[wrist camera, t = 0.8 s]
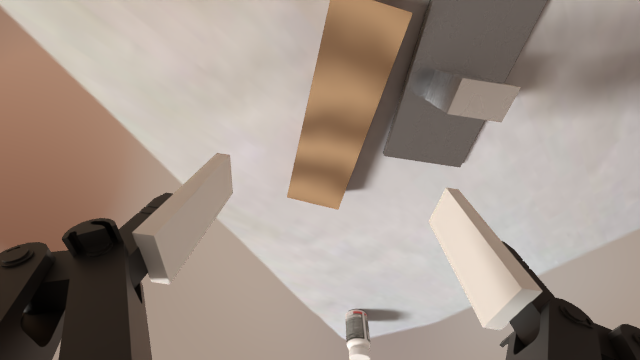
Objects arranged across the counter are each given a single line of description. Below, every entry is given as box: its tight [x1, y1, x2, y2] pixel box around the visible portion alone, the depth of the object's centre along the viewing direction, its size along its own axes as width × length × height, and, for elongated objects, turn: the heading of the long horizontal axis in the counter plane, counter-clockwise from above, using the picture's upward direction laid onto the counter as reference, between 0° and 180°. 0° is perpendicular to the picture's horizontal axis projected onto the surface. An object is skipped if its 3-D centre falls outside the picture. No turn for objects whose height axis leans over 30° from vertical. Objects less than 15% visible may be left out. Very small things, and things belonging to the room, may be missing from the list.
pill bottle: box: [346, 309, 370, 360], centre depth 47 cm, size 5×5×8 cm
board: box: [287, 0, 413, 209], centre depth 27 cm, size 22×7×4 cm, turn 166°
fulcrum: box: [383, 0, 547, 167], centre depth 23 cm, size 18×10×7 cm, turn 172°
